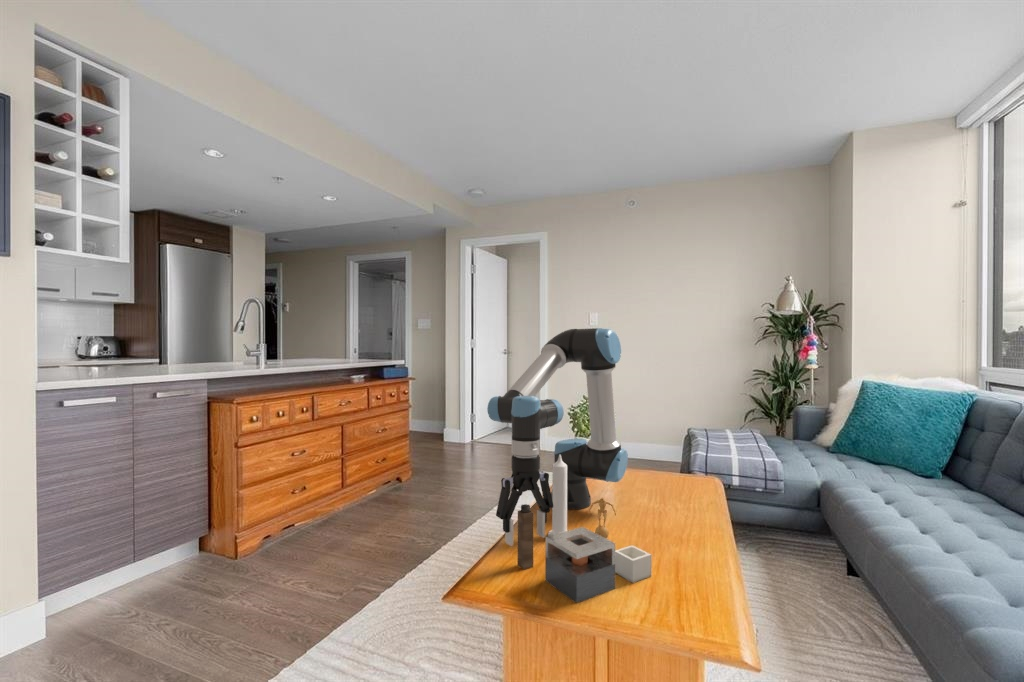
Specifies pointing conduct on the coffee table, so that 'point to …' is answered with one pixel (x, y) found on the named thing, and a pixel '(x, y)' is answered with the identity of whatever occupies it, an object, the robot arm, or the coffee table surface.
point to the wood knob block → (525, 537)
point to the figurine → (602, 529)
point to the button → (580, 561)
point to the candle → (559, 497)
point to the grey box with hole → (584, 578)
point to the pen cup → (632, 563)
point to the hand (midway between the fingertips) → (525, 539)
